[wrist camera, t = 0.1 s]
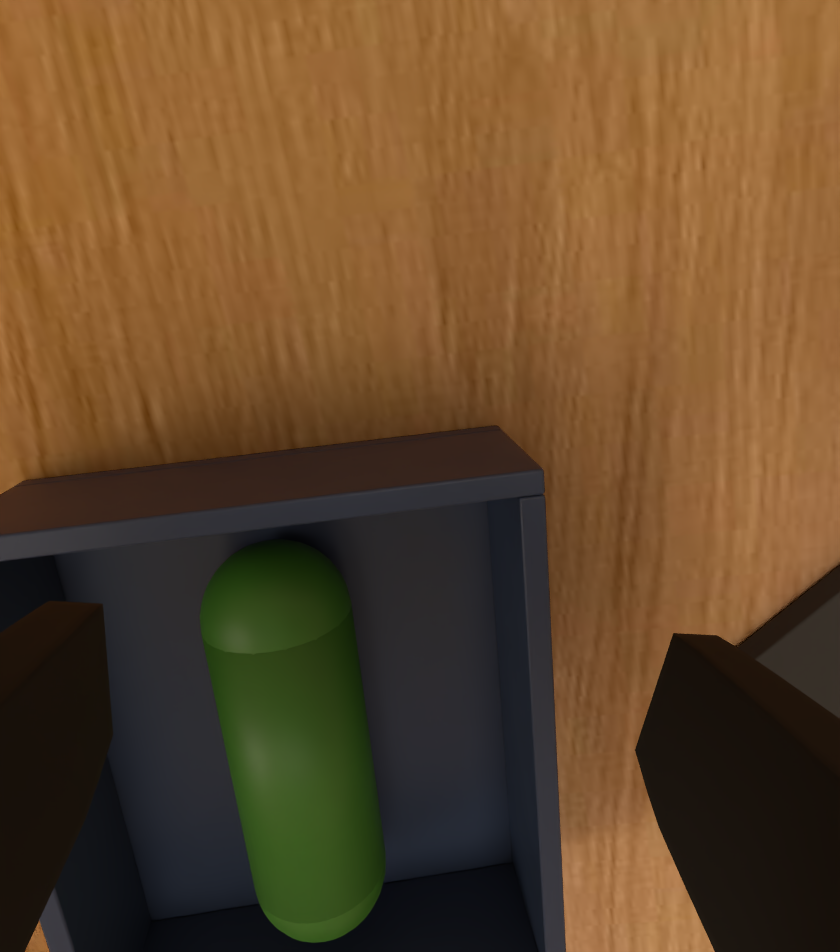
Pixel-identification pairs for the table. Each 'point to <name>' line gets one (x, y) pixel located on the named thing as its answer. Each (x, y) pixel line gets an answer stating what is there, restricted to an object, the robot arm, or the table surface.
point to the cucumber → (296, 735)
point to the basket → (383, 677)
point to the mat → (805, 643)
